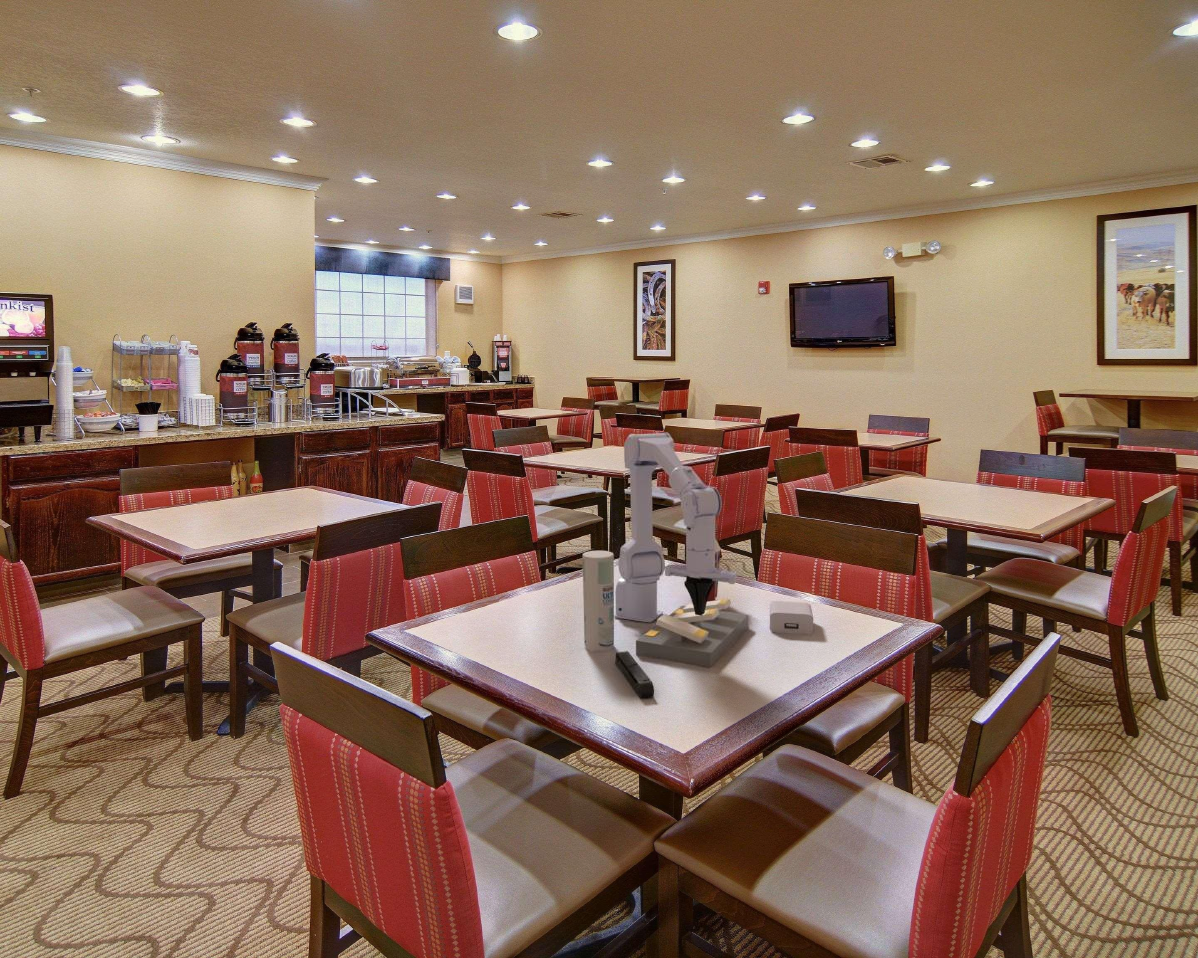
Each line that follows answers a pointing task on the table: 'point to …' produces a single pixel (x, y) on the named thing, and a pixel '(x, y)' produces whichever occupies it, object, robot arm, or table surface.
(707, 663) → the switch panel
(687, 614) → the block
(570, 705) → the table surface
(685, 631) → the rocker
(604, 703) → the table surface
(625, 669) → the black long bar
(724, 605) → the block
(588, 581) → the spray can
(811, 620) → the charger
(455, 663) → the table surface
